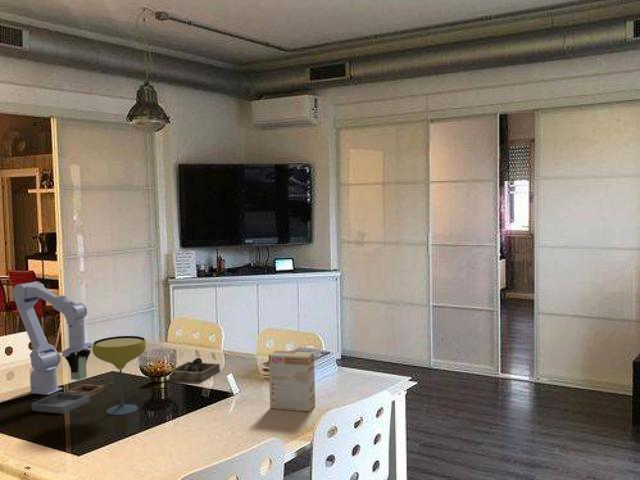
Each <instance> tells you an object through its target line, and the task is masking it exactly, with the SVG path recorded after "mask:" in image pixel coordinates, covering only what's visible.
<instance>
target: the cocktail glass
mask: <svg viewBox="0 0 640 480" xmlns="http://www.w3.org/2000/svg"><path fill="white" fill-rule="evenodd" d="M146 347H147V342H146V339H145V338H144V337H142V336H137V335H120V336H119V335H118V336H110V337H105V338H101V339H98V340H95V341H94V342H93V343H92V348H91V349H92V353H93V355H94V357H96V358H97V359H99V360H100V361H104V362H106V363H109V364H112V365H113V366H114V367H115V368H116V369H117V370H119V384H120V385H119V386H120V388H119V389H120V400H119V401H120V402H119V404H118V405H114V406H111V407H109V408H108V409H106V414H107V415H110V416H124V415H129V414H133V413H135V412H136V411H138V409H139V407H138V406H137V405H135V404H125V402H124V394H123V381H122V380H123V379H122V377H123V374H122V370H123V369H125V367H126V365H127V364H128V363H129V362H131V361H133V360H135V359H136V358H138V357H140V356H141V355H142V354H143V353H144V352H145V350H146Z"/></svg>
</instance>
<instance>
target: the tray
mask: <svg viewBox="0 0 640 480" xmlns="http://www.w3.org/2000/svg"><path fill="white" fill-rule="evenodd" d="M90 398H91V397H90V395H84V394H74V393H66V392H61V391H57V392H55V393H52V394H50V395H47V396H46V397H44V398H42V399H39V400H37V401H34V402H32V403H30V404H31V411H33V412H40V413H41V412H42V413H52V414H62V415H64V414H66V413H69V412H71V411H72V410H75V409H77V408H79V407H81V406H84V405H85V404H87V403H90V402H91V400H90Z"/></svg>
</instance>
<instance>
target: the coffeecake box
mask: <svg viewBox="0 0 640 480" xmlns="http://www.w3.org/2000/svg"><path fill="white" fill-rule="evenodd" d="M315 377H316V375H315V353H314V352H308V351H307V352H305V351H304V352H303V351H288V350H287V351H285V350H275V351H272V353H270V354H268V378H269V379H268V380H269V381H268V382H269V409H273V408H274V409H275V410H284V409H285V410H286V411H295V412H297V411H298V412H305V411H308V412H307V413H310V411H312V410H313V409H314V408H315V407H316V386H315V385H316V383H315V382H316V381H315V379H316V378H315ZM314 406H315V407H314ZM313 407H314V408H313ZM312 408H313V409H312Z"/></svg>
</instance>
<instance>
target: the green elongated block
mask: <svg viewBox="0 0 640 480" xmlns="http://www.w3.org/2000/svg"><path fill="white" fill-rule="evenodd" d="M87 377H88V375H87V363H86V357H83V356H79V360H78V371H77V372H76V373H74V372H72V371H71V370H70V379H71V380H75V381H80V380H83V379H86V378H87Z"/></svg>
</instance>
